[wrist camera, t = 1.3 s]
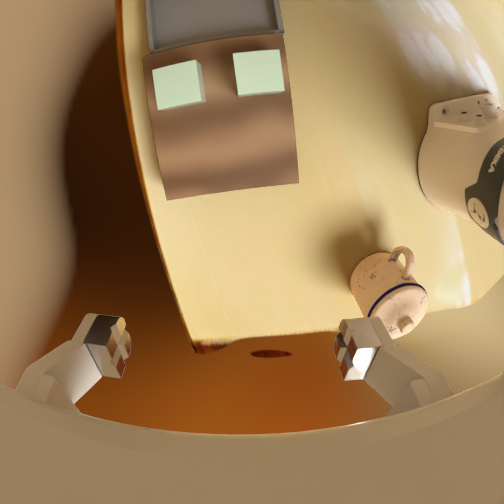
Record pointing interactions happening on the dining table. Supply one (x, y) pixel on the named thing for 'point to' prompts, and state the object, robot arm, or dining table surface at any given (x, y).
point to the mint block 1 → (179, 85)
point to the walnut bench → (223, 124)
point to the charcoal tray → (208, 21)
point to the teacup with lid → (390, 291)
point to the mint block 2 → (258, 72)
